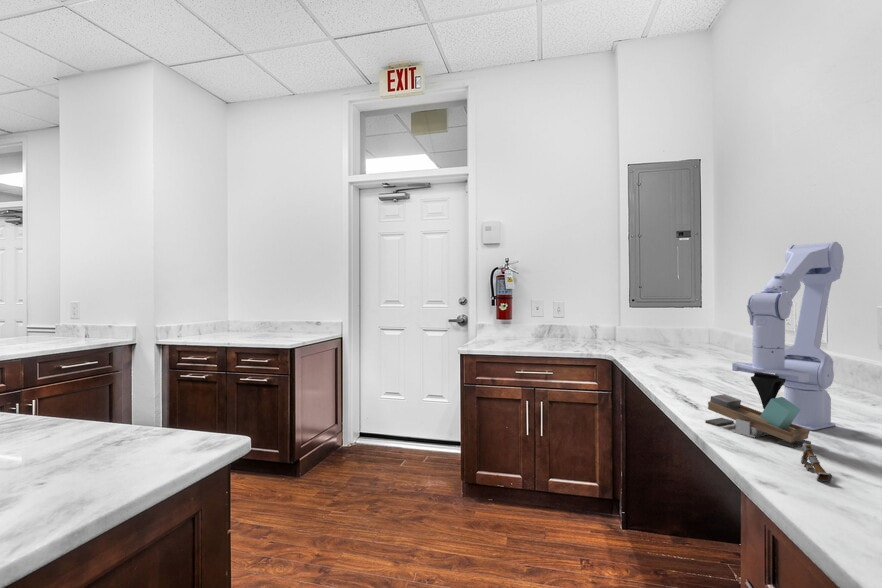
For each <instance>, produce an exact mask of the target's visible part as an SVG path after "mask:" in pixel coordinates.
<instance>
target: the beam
mask: <svg viewBox="0 0 882 588" xmlns="http://www.w3.org/2000/svg"><path fill="white" fill-rule="evenodd" d="M707 410H710V411H711V412H714V413H716V414H718V415H721V416H724V417H725V418H728V419H730V420H733V421H736V419H737V418H739V419H743V420H746V421H750V422H752V427H753V428H756V429H758V430H761V431H763V432H766V433H768V434H771V435H770V436H774V437H776V438H778V439H781V440H786V441H788V442H795V441H799V440H807V439H809V434H810V431H811V430H809V429H807V428H803V427H801V426H798V425H795V424H792V423H791V424H790V426H789V427H787V428H782V429H780V428H778V427H775V426H773V425H771V424H769V423H768V422H766V421H765V420H764V419H762V418H761V417H760V415H761V414H762V412H763V411H759V410H757V409H754V408H751V407H749V406H746V405H743V404H742V400H741V399H739V398H736V397H734V396H730V395H729V394H728V395H727V394H723V393H722V394H717V395H716V394H715V395H711V396H710V400H709V401H707Z"/></svg>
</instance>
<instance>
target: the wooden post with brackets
mask: <svg viewBox="0 0 882 588" xmlns="http://www.w3.org/2000/svg"><path fill="white" fill-rule="evenodd" d="M801 447H802V449H803V453H802V455H801V457H800V463H801V465H804V466H803V467H804V468H805V469H806V471H807V472H809V471H810V473H814V472H815V473H816V475H817V476H816V481H817V482H823V483H831V481H832V478H833V474H832V473H828V472H827V471H826V470H825V469H824V468H823V467H822V465H821V462H820V461H819V460H818V457H817V455H816V454H815V453H814V452H813V448H812V446H811V444H807V443H803V446H801ZM814 470H815V471H814Z"/></svg>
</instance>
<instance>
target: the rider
mask: <svg viewBox="0 0 882 588" xmlns="http://www.w3.org/2000/svg"><path fill="white" fill-rule="evenodd" d="M800 410H801V409H800V408H798V407H797V406H795V405H794V404H792V403H791V402H789V401H788V400H786V399H785V398H784V397H783V396H779V397H776V398H772V399H771V400H770V401H769V403H768V404H767V406H766V407H765V409H763V410H762V411H761V412H762V414H761V415H760V417H761V418H762V419H764V420H765V421H766V422H768V423H769V424H771V425H773V426H775V427H778V428H780V429H782V428H787V427H789V426H790V424H791V423H792V422H793V420H794V419H795V417H796V416H797V414H798V413H799V411H800Z"/></svg>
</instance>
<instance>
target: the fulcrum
mask: <svg viewBox="0 0 882 588" xmlns="http://www.w3.org/2000/svg"><path fill="white" fill-rule="evenodd" d="M734 421H735V422H734ZM705 423H706V424H709V425H713V426H715V425H716V426H715V427H720V426H726V425H730V424H729V423H731V424H734V423H735V428H732V429H731V432H732V433H735V434H738V433H739V435H741V434H743V435H742V436H745V435H747V436H746V437H748V436H750V437H749V438H752V437H754V438H753V439H756V438H755V437H758V438H761V437H760V436H763V437H766V436H765V435H767V436H772V435H771V434H768V433H766V432H763V431H761V430H758V429H756V428H753V427H752V422H750V421H746V420H743V419H739V418H737V419H736V420H733V419H730V418H726V417H725V418H724V417H718V418H713V419H707V420H705ZM725 424H726V425H725ZM803 443H807V444H810V445H811V443H812V441H810V440H807V439H804V440H799V441H795V442H788V441H786V440H783V439H781V440H777V444H779V445H782V446H785V447H788V448H792V447H793V448H792V449H795V448H794V447H796V448H799V447H798V446H800V447H803Z"/></svg>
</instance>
